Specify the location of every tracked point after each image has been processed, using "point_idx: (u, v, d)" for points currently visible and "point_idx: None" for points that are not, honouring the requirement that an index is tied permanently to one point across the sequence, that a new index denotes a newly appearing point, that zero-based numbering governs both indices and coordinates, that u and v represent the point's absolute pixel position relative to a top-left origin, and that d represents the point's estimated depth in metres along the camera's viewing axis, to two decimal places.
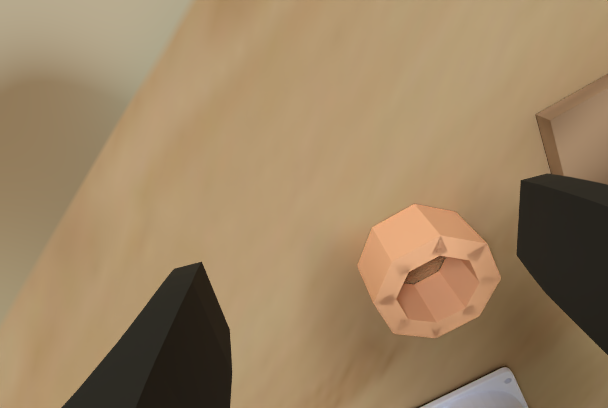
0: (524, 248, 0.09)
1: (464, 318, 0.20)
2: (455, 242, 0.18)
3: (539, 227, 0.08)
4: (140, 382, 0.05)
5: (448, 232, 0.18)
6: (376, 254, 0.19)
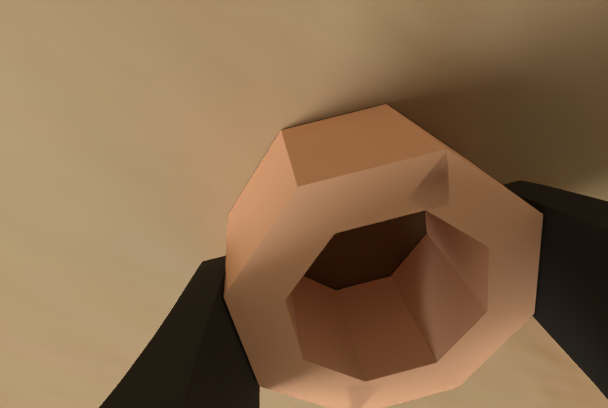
0: None
1: (521, 250, 0.07)
2: (259, 264, 0.07)
3: None
4: (186, 370, 0.05)
5: (241, 256, 0.07)
6: None
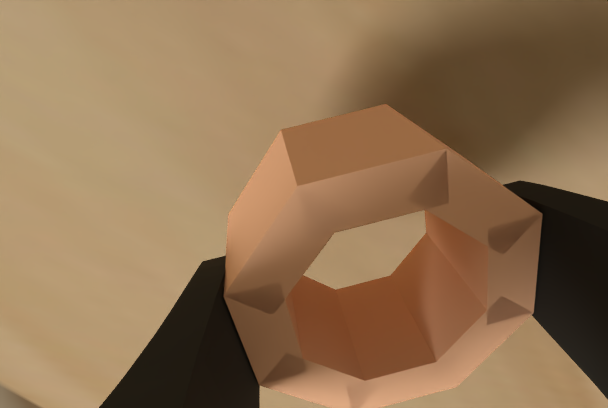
0: None
1: (521, 250, 0.07)
2: (259, 263, 0.07)
3: None
4: (186, 370, 0.05)
5: (240, 255, 0.07)
6: None
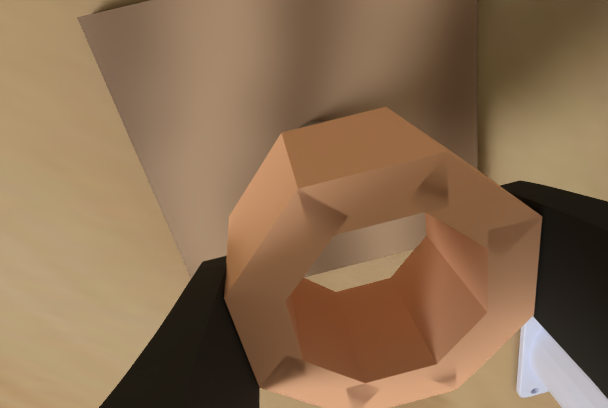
0: None
1: (521, 252, 0.07)
2: (260, 266, 0.07)
3: None
4: (186, 370, 0.05)
5: (241, 257, 0.07)
6: None
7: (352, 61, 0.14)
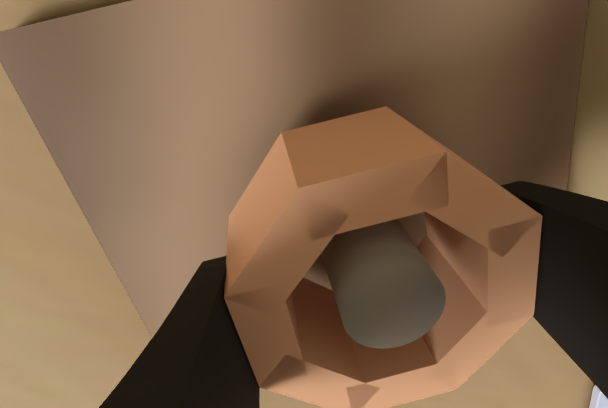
0: None
1: (521, 252, 0.07)
2: (260, 266, 0.07)
3: None
4: (186, 370, 0.05)
5: (241, 257, 0.07)
6: None
7: (402, 95, 0.10)
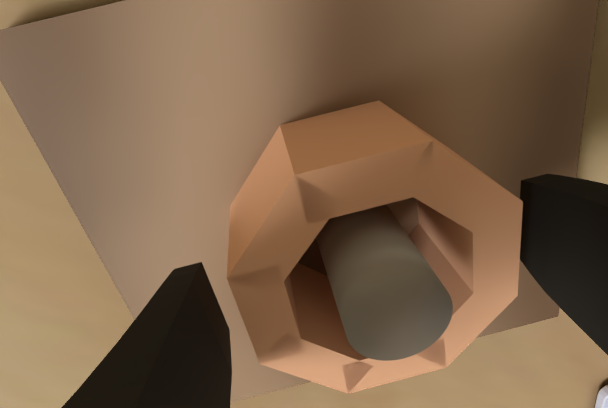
0: (524, 248, 0.09)
1: (504, 235, 0.08)
2: (260, 248, 0.07)
3: (539, 227, 0.08)
4: (140, 382, 0.05)
5: (242, 240, 0.08)
6: None
7: (406, 97, 0.10)
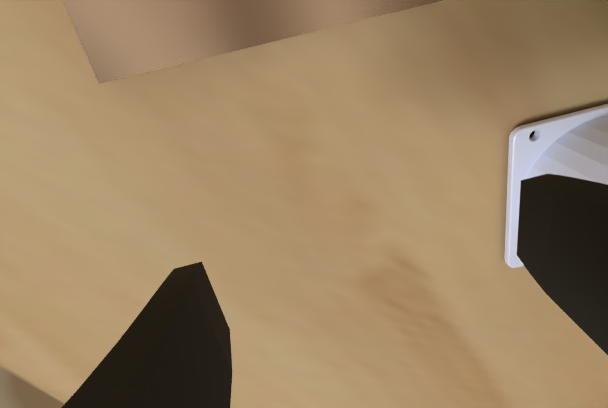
0: (524, 248, 0.09)
1: None
2: None
3: (539, 227, 0.08)
4: (140, 382, 0.05)
5: None
6: None
7: None
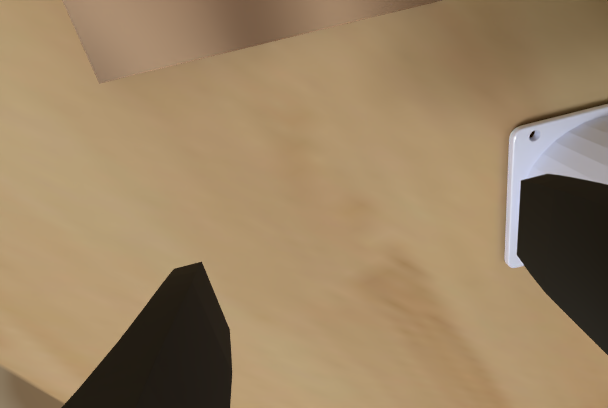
0: (524, 248, 0.09)
1: None
2: None
3: (539, 227, 0.08)
4: (140, 382, 0.05)
5: None
6: None
7: None
